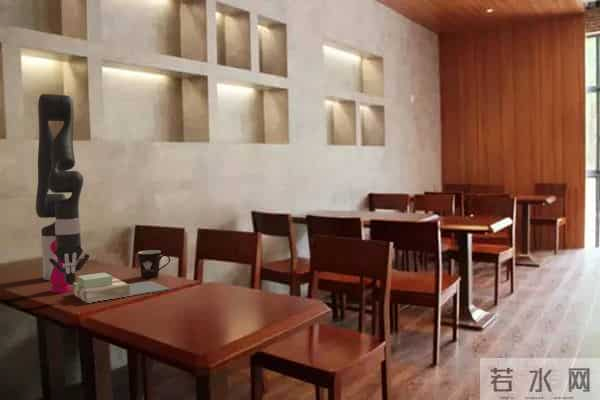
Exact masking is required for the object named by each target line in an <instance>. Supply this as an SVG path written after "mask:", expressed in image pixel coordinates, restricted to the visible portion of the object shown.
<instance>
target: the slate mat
mask: <svg viewBox="0 0 600 400" xmlns="http://www.w3.org/2000/svg"><path fill="white" fill-rule="evenodd" d="M128 284H129V285H130V296H132V297H134V296H133V295H138V296H141V295H140V294H144V295H147V294H146V293H150V294H153V293H152V292H156V293H159V292H158V291H162V292H166V291H165V290H168V291H170V288H169V287H166V286H164V285H162V284H159V283H158V282H156V281H155V282H154V281H153V280H148V281H143V282H142V281H140V282H135V283H128Z"/></svg>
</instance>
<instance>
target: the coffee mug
mask: <svg viewBox="0 0 600 400" xmlns="http://www.w3.org/2000/svg"><path fill="white" fill-rule="evenodd" d="M137 255H138V256H137V257H138V263H139V269H140V276H141V279H142V280H151V278H153V279H157V278H159V275H160V274H159V273H160V270H162V269H164V268H165V267H167V265H169V263H170V262H171V257H170V256H169V255H168V254H162V255H161V250H157V249H155V250H154V249H149V250H141V251H138V252H137ZM163 257H166V258H167V259H168V262H167V263H166V264H164V265H163V266H161V267H160V263H161V260H162V258H163Z"/></svg>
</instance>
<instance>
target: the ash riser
mask: <svg viewBox="0 0 600 400" xmlns="http://www.w3.org/2000/svg"><path fill="white" fill-rule="evenodd" d="M129 284H130V283H126V282H125V281H122V280H120V279H119V278H117V277H113V276H112V285H109V286H102V287H96V288H89V289H84V288H82V287H81V286H79V285H78V281H75V282H73V284H72V286H73V287H72V289H73V290H72V291H73V295H74V296H76V297H77V298H78V299H80V300H81V301H83V302H84V301H85V302H84V303H85V304H87V303H90V304H93V303H92V302H96V303H98V302H97V301H102V300H108V301H110V300H109V299H114V298H120V297H126V298H128V297H127V296H130V285H129ZM120 299H121V298H120ZM114 300H115V299H114ZM102 302H103V301H102Z"/></svg>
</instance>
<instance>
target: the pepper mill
mask: <svg viewBox="0 0 600 400" xmlns="http://www.w3.org/2000/svg"><path fill="white" fill-rule="evenodd" d="M50 249H51V251H52V252H53V254H52V255H55V251H56V240H55V241H53V242H52V243H51V245H50ZM57 263H58V264H59V265H60V266H61V267H62V268H64V267H63V262H61V261H60V260H59V259H58V258H57ZM49 282H50V284H51V285H52V287H51V293H53V294H54V293H55V294H63V293H69V292H70V291H72V284H71V285H68V284H67V283H66V282H65V273H61V272H60V271H58V270H57V269H56V268H55V267H54V266H53V270H52V272H51V275H50V280H49Z"/></svg>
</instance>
